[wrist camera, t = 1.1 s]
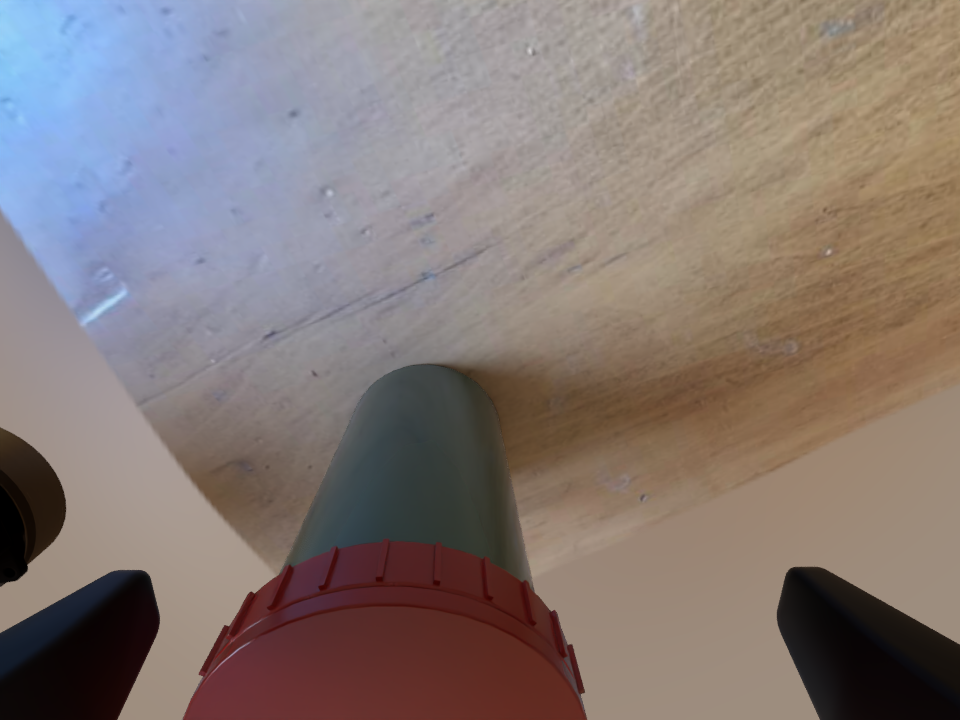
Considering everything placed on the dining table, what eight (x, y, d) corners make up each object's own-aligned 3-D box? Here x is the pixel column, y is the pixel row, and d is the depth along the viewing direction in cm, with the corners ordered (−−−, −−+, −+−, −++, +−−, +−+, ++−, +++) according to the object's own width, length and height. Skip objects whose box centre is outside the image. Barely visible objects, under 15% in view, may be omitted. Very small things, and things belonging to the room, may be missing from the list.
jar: (368, 508, 22) (269, 872, 10) (336, 376, 20) (169, 632, 8) (508, 486, 22) (573, 825, 10) (489, 353, 20) (543, 576, 8)
